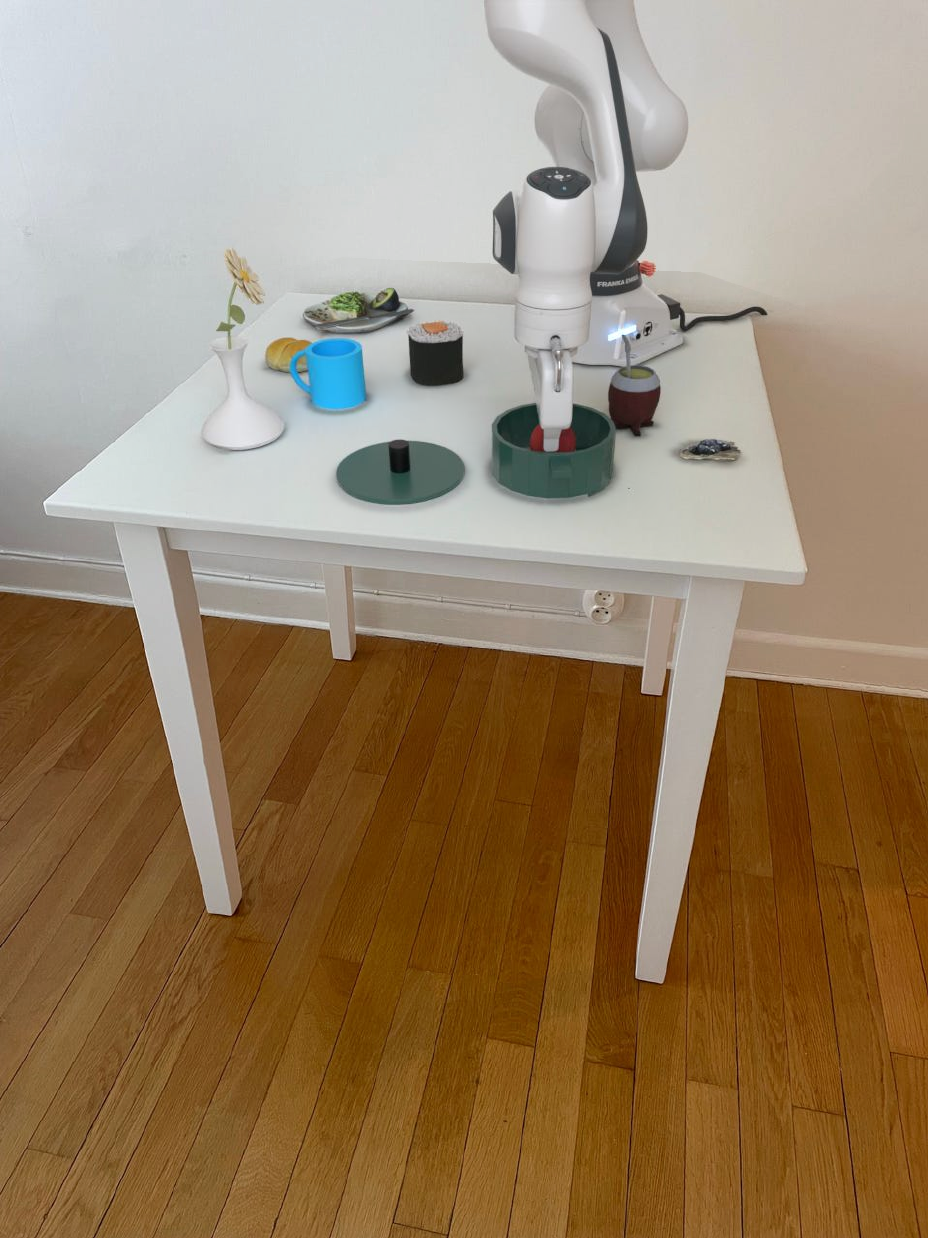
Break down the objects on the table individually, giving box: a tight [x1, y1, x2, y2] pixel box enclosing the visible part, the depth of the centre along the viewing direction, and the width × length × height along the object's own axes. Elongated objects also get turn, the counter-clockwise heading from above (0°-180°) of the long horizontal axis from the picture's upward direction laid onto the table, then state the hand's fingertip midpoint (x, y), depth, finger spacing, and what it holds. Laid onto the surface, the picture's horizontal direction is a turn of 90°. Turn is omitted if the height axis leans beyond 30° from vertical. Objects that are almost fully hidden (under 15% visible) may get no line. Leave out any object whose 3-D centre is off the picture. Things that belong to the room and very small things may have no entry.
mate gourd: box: [607, 334, 662, 437], centre depth 128 cm, size 8×8×15 cm
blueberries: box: [678, 438, 742, 463], centre depth 125 cm, size 7×8×2 cm
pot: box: [491, 402, 617, 499], centre depth 121 cm, size 15×21×6 cm
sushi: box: [406, 320, 464, 387], centre depth 147 cm, size 8×8×8 cm
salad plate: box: [302, 287, 415, 334], centre depth 169 cm, size 19×18×5 cm
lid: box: [335, 439, 465, 505], centre depth 121 cm, size 16×16×5 cm
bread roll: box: [264, 337, 313, 374], centre depth 153 cm, size 8×9×4 cm
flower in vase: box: [200, 246, 286, 451], centre depth 126 cm, size 13×11×25 cm
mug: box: [289, 337, 367, 410], centre depth 140 cm, size 12×8×8 cm
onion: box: [529, 423, 576, 453], centre depth 120 cm, size 6×6×8 cm
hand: (547, 432), depth 119 cm, fingers open, 8 cm apart
